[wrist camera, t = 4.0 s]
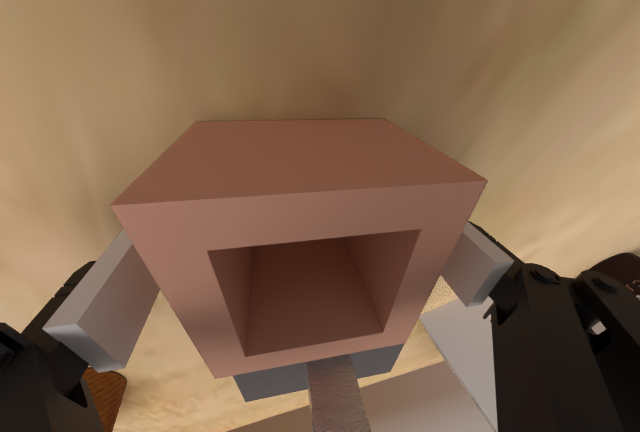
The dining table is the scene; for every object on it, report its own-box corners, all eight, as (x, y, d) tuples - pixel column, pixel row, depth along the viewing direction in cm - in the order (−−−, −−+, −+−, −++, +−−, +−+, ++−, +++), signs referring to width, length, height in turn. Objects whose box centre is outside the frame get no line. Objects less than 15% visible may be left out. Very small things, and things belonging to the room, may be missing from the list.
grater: (511, 314, 30) (795, 621, 14) (435, 346, 31) (609, 652, 15) (511, 273, 23) (1025, 744, 8) (417, 316, 25) (674, 772, 9)
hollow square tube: (195, 121, 10) (109, 205, 5) (383, 118, 12) (488, 180, 6) (234, 260, 15) (215, 378, 10) (360, 247, 17) (405, 343, 11)
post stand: (208, 297, 17) (169, 458, 10) (425, 268, 20) (505, 379, 13) (246, 386, 28) (239, 495, 21) (385, 359, 31) (418, 447, 24)
